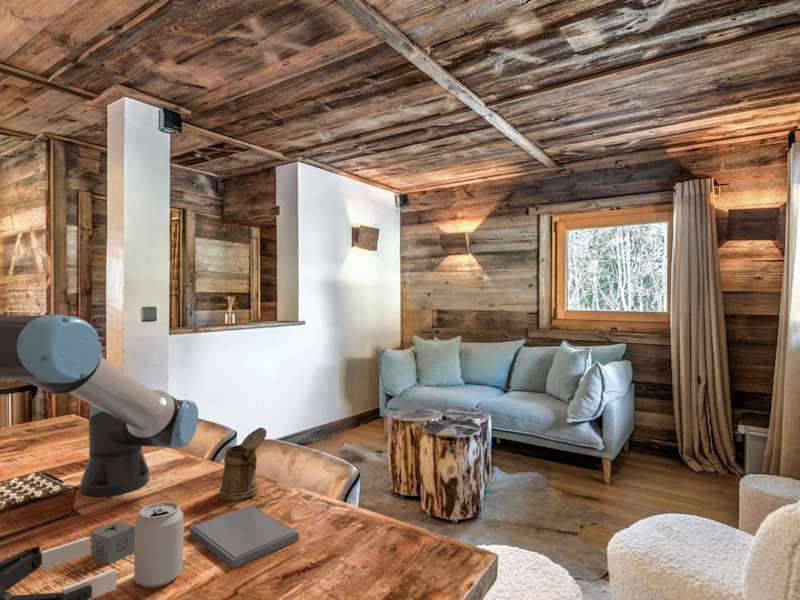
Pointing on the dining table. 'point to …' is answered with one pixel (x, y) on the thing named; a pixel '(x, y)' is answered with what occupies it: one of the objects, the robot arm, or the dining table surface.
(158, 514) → the can
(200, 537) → the slate board
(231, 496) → the wooden mug
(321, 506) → the dining table surface
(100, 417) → the robot arm
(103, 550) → the dice cube
